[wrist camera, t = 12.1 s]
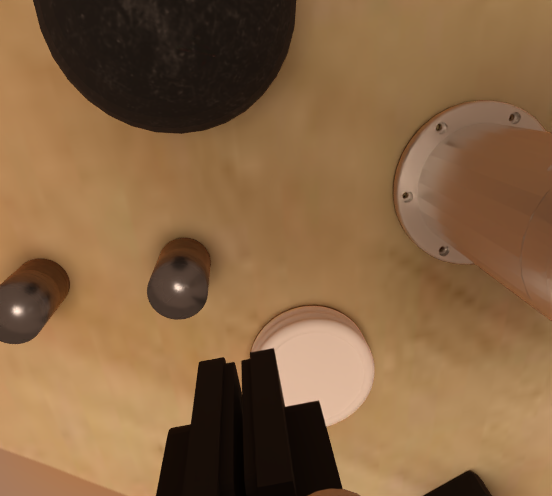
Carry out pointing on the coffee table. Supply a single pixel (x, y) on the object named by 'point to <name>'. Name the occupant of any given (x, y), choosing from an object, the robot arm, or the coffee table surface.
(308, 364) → the coaster
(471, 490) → the portable radio
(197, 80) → the black ball on stand
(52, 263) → the posts
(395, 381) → the coffee table surface
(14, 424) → the coffee table surface
